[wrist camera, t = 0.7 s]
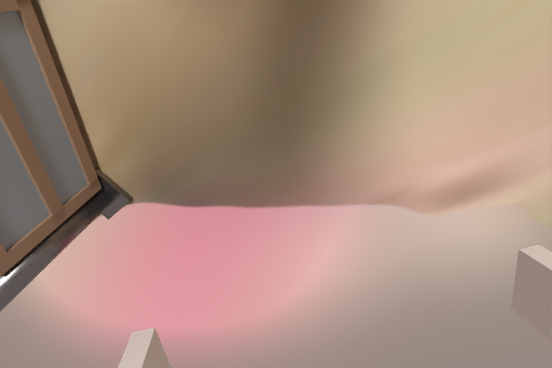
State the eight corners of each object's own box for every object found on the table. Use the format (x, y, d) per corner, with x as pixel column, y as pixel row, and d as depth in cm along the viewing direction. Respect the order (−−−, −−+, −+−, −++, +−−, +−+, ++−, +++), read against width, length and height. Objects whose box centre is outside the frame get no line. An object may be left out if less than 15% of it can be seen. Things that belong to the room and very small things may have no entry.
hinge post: (78, 188, 45) (-70, 307, 29) (98, 168, 43) (-53, 286, 26) (111, 216, 47) (-10, 341, 31) (132, 198, 45) (12, 325, 28)
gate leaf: (101, 188, 43) (0, 276, 30) (89, 187, 43) (-16, 274, 30) (26, -10, 30) (-204, -4, 17) (10, -10, 31) (-228, -4, 18)
